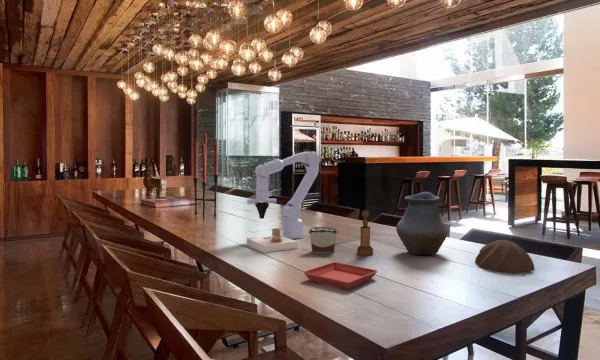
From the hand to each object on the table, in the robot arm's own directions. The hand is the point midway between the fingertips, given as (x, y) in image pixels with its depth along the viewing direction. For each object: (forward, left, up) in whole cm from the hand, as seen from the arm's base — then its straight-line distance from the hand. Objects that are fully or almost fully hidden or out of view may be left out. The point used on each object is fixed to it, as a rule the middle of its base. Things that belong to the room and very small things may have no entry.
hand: (261, 218), depth 204 cm
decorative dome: (-56, +88, -11) cm, 105 cm away
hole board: (+2, +15, -10) cm, 18 cm away
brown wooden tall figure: (-25, +47, -11) cm, 54 cm away
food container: (-13, +34, -11) cm, 38 cm away
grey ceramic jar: (-46, +58, -11) cm, 75 cm away
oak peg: (+2, +20, -10) cm, 22 cm away
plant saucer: (+5, +71, -11) cm, 72 cm away
